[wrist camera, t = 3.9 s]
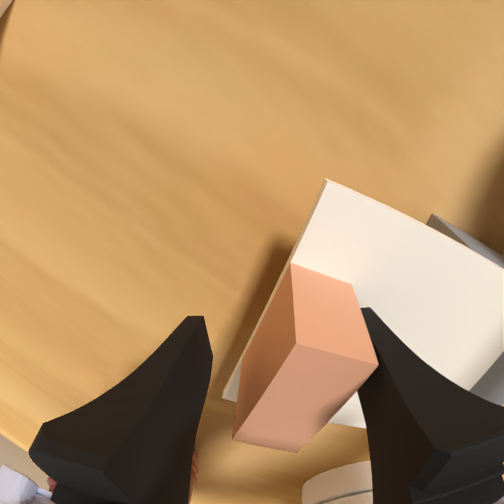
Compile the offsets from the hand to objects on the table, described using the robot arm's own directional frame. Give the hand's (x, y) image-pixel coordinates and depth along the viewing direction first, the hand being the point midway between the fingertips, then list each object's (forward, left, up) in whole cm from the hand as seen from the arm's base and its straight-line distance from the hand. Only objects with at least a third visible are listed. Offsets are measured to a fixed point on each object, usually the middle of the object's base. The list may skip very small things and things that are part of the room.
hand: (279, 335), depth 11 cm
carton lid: (-4, +4, -1) cm, 6 cm away
